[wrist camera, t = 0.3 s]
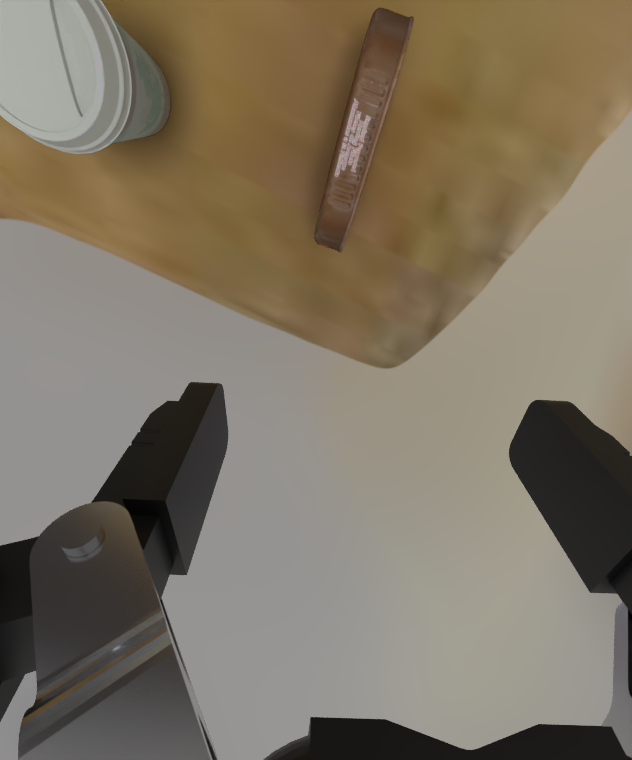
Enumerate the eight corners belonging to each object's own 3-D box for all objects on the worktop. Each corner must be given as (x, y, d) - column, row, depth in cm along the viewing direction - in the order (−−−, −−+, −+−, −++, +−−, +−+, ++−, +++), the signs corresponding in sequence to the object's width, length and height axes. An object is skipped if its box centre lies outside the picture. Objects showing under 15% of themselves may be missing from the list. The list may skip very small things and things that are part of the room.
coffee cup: (164, 178, 31) (89, 186, 21) (65, 108, 28) (-75, 79, 18) (205, 75, 27) (138, 25, 17) (96, -15, 25) (-60, -138, 15)
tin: (341, 243, 34) (346, 264, 27) (310, 233, 33) (307, 253, 26) (403, 41, 26) (434, -4, 19) (364, 25, 26) (381, -27, 19)
